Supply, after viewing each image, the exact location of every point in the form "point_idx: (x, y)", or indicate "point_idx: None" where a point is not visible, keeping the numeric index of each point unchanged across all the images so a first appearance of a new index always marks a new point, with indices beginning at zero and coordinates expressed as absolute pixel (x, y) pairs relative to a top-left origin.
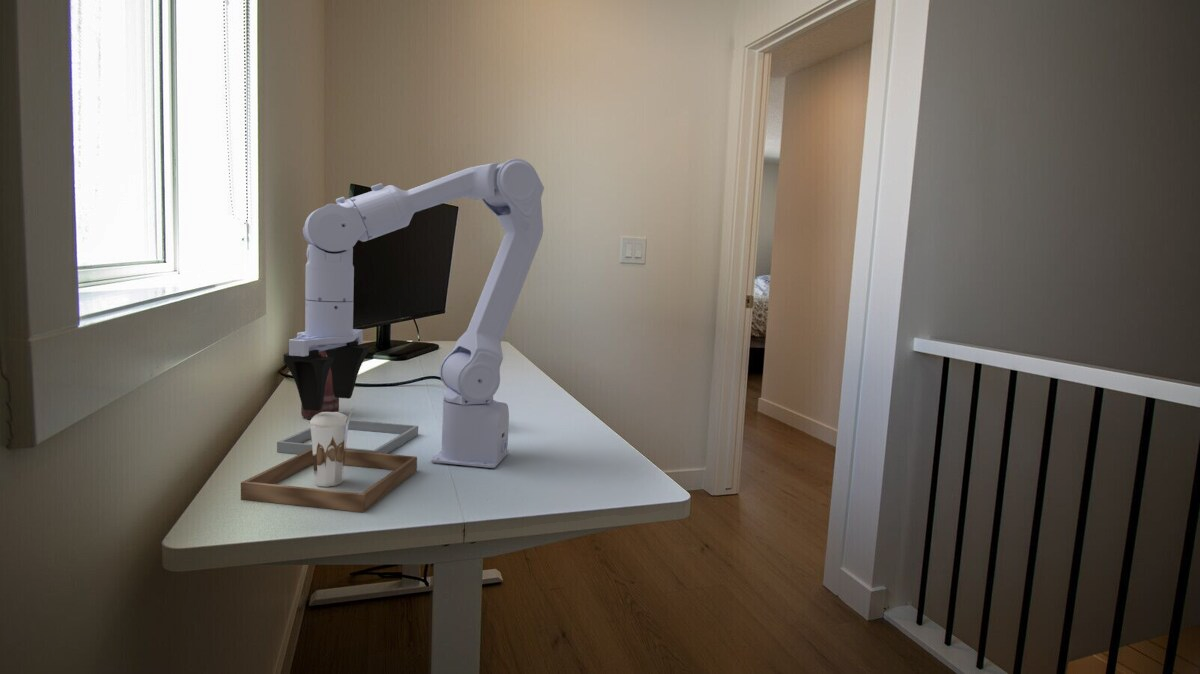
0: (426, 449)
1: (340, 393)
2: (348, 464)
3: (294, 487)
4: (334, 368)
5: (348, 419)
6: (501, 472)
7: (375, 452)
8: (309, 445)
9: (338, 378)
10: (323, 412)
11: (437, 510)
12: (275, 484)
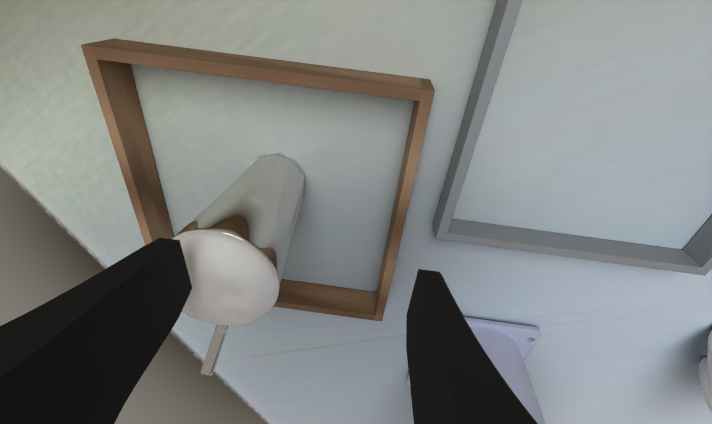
0: (533, 291)
1: (415, 304)
2: (399, 179)
3: (127, 181)
4: (445, 411)
5: (225, 330)
6: (394, 386)
7: (436, 236)
8: (495, 42)
9: (427, 364)
10: (206, 283)
11: (225, 339)
12: (119, 135)
